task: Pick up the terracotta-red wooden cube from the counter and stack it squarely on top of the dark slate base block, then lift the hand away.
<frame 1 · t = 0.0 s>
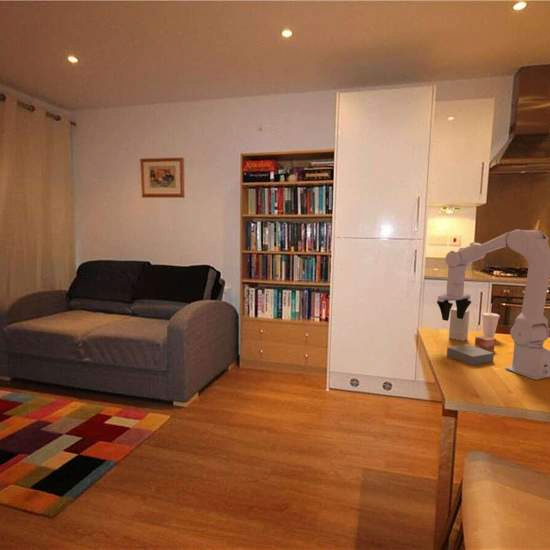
hand: (452, 319, 139), 10 cm above the table, tool pointing down, fingers open, 7 cm apart
base block: (469, 358, 127), on the table
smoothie: (488, 337, 152), on the table
cube: (484, 349, 137), on the table
skincare box: (457, 339, 149), on the table
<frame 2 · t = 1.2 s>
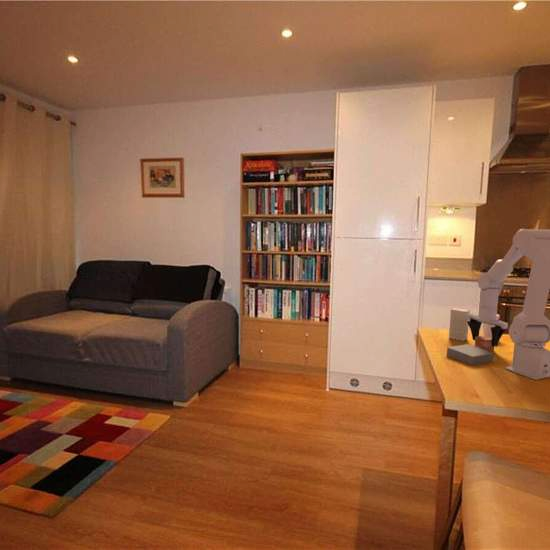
hand: (484, 342, 137), 2 cm above the table, tool pointing down, fingers open, 7 cm apart
nothing on the table moved.
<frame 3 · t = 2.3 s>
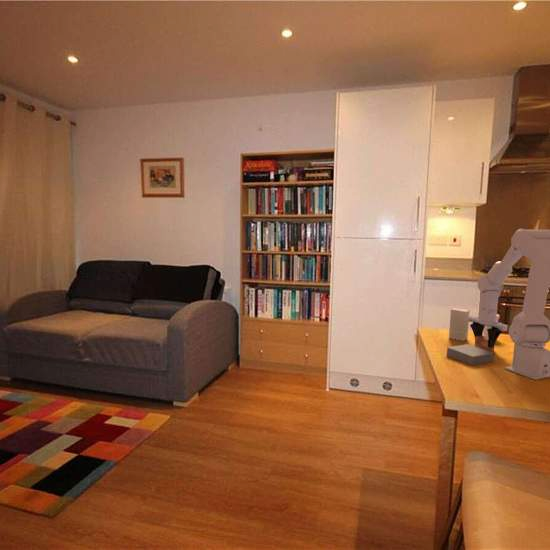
hand: (484, 345, 137), 2 cm above the table, tool pointing down, fingers closed on cube, 4 cm apart
cube: (484, 349, 137), on the table, touching gripper
everything else where it was.
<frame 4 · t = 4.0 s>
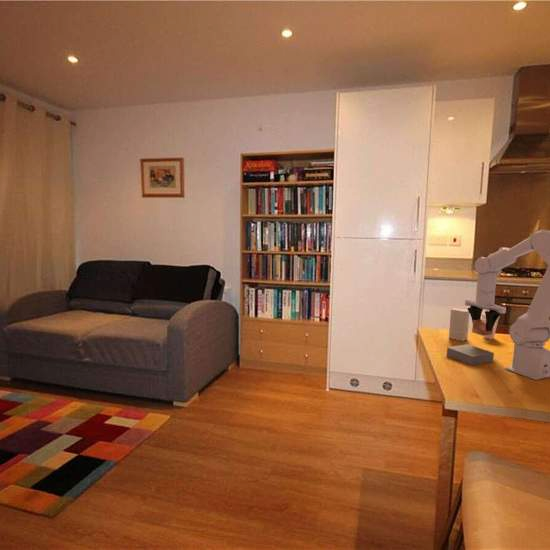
hand: (482, 329, 133), 9 cm above the table, tool pointing down, fingers closed on cube, 4 cm apart
cube: (482, 333, 133), point 7 cm above the table, touching gripper
everything else where it was.
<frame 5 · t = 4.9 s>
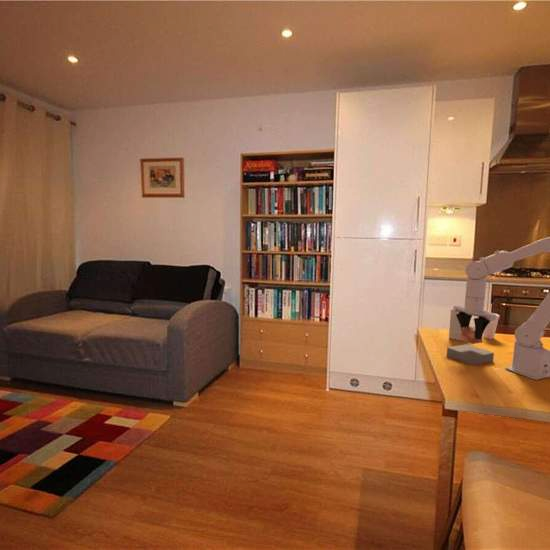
hand: (471, 336, 126), 8 cm above the table, tool pointing down, fingers closed on cube, 4 cm apart
cube: (471, 341, 126), point 6 cm above the table, touching gripper
everything else where it was.
when the fingers open (6 cm above the table, at t = 5.7 s): cube stays where it is, resting on base block.
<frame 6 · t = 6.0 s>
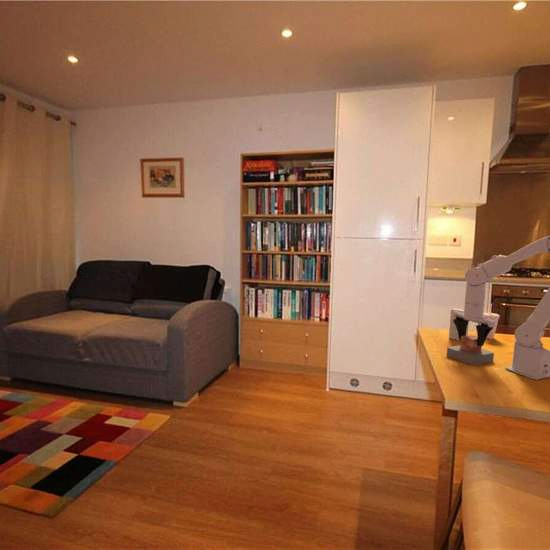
hand: (470, 342, 126), 6 cm above the table, tool pointing down, fingers open, 6 cm apart
cube: (470, 350, 126), point 3 cm above the table, touching base block
everything else where it was.
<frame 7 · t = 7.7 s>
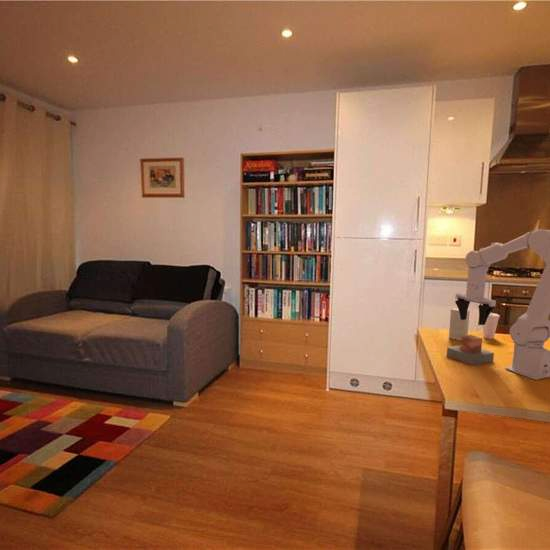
hand: (472, 322, 134), 11 cm above the table, tool pointing down, fingers open, 7 cm apart
nothing on the table moved.
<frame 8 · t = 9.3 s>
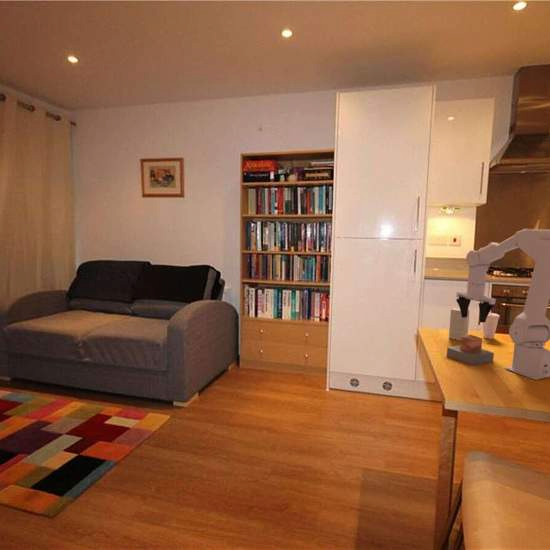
hand: (473, 319, 138), 10 cm above the table, tool pointing down, fingers open, 7 cm apart
nothing on the table moved.
at the end: cube 0.2 cm off-centre on the base block, point 3.0 cm above the base block's base; cube tilted 0°; the gripper is holding nothing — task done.
